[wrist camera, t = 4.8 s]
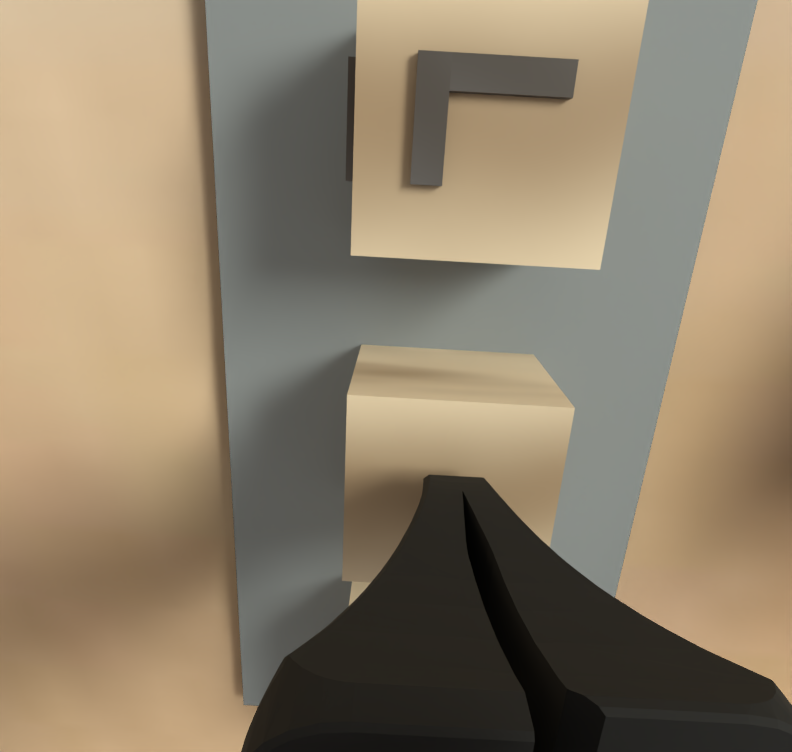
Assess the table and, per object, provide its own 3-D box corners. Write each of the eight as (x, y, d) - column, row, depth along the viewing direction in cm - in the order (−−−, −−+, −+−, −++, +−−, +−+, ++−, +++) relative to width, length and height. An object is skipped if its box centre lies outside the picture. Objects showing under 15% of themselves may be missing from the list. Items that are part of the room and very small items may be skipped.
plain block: (511, 502, 17) (541, 592, 13) (356, 494, 17) (342, 580, 13) (533, 354, 15) (575, 407, 12) (361, 344, 15) (347, 394, 12)
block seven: (548, 248, 14) (603, 271, 10) (357, 237, 14) (339, 255, 10) (580, 35, 13) (659, -34, 9) (363, 23, 13) (345, -52, 9)
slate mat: (579, 709, 21) (584, 724, 20) (247, 690, 21) (243, 705, 20) (748, -20, 13) (764, -29, 12) (210, -52, 13) (201, -62, 12)
